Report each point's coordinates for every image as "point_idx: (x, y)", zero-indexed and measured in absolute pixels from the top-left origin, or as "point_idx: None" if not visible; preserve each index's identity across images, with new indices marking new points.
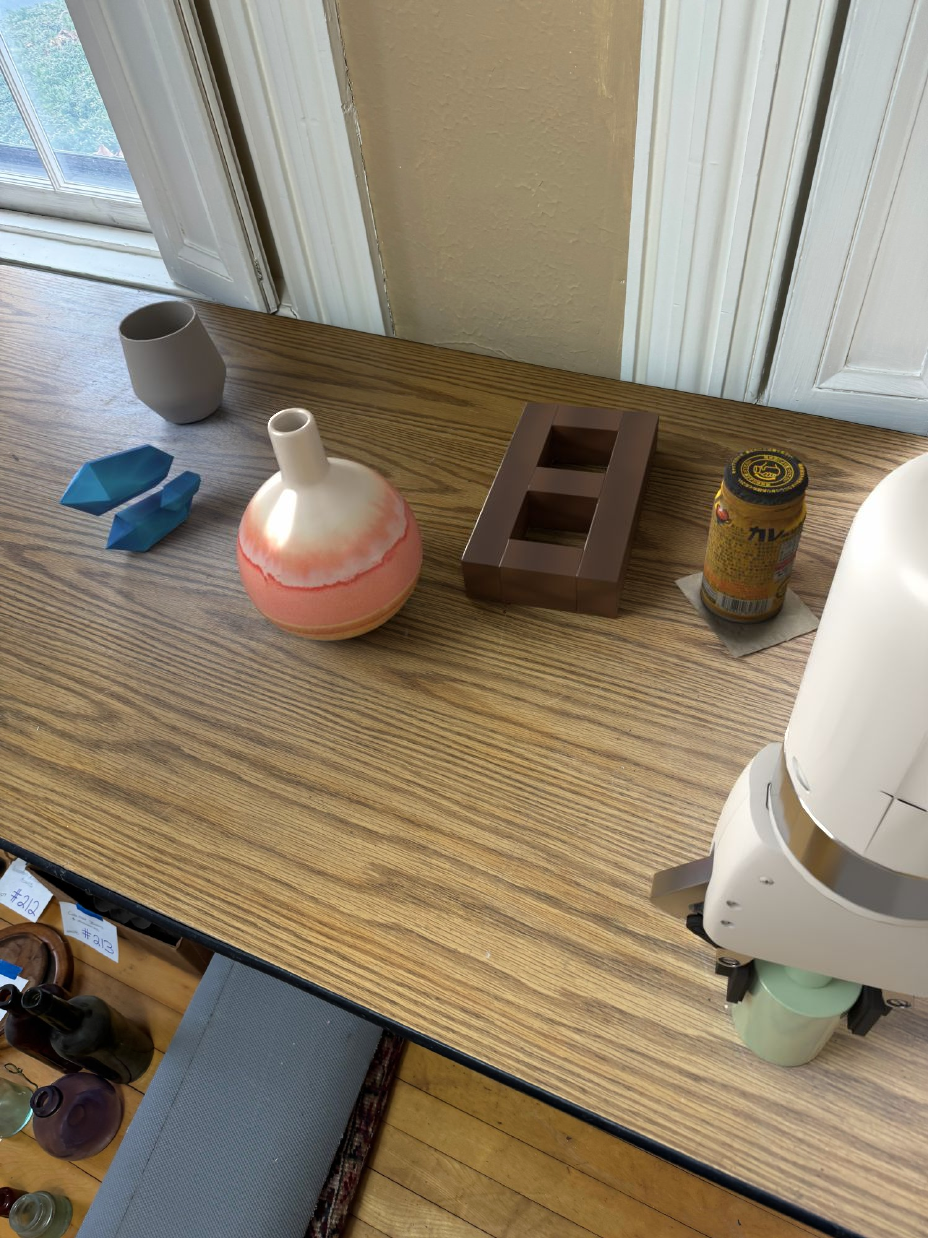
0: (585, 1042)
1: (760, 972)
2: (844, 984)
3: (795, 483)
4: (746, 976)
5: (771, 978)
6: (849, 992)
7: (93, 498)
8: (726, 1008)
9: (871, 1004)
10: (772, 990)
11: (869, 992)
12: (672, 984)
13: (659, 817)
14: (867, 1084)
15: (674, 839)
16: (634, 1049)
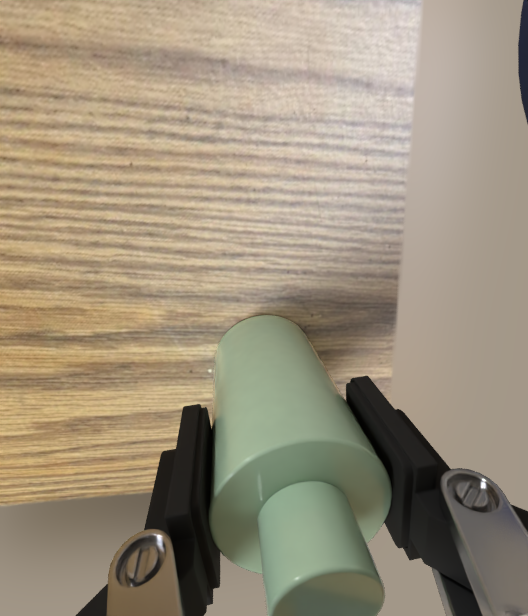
0: (87, 455)
1: (231, 556)
2: (362, 518)
3: None
4: (209, 601)
5: (250, 555)
6: (370, 527)
7: None
8: (211, 372)
9: (406, 548)
10: (255, 570)
11: (405, 537)
12: (148, 373)
13: (23, 146)
14: (349, 381)
15: (66, 181)
16: (136, 441)
